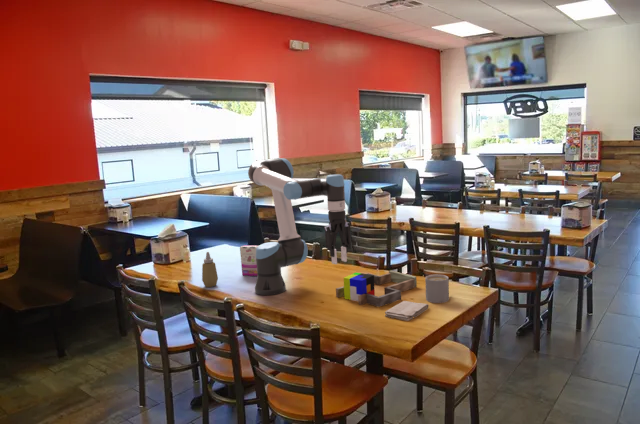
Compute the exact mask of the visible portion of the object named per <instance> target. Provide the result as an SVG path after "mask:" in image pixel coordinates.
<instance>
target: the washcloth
mask: <svg viewBox="0 0 640 424" xmlns="http://www.w3.org/2000/svg"><path fill="white" fill-rule="evenodd" d="M429 307H430V305H429V304H428V303H422V302H415V301H409V300H408V301H407V300H403V301H401V302H400V303H397V304H396V305H394V306H393V307H390V308H389V309H386V310H385V312H384V314H385V315H384V317H387V318H390V317H391V318H390V319H394V318H396V319H395V320H400V321H405V322H408V321H409V322H410V321H411V320H413V319H415V318H417V317H418V316H420V315H421V314H422V313H424V312H426V311H427V310H429ZM413 317H414V318H413Z"/></svg>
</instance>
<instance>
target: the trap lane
mask: <svg viewBox="0 0 640 424" xmlns="http://www.w3.org/2000/svg"><path fill="white" fill-rule="evenodd" d="M367 274H370V275H374V285H377V286H380V285H384V284H387V283H390V282H393V283H394V284H391V285H388V286H385V287H383V291H384V293H383V294H382V295H379V296H377V295H376V294H375V295H371V294H368V293H365V294H362V295H359V296H358V301H357V303H358V305H359V306H363V305H365V304H368V305H370V306H375V307H378V308H381V307H383V306H387V305H390V304H392V303H395V302H397V301H401V300H402V293H403V292H406V291H408V290H411V289H415V288H417V286H418V285H417V284H418V283H417V276H416V275H411V274H407V273H402V272H398V271H394V270H389V271H388V272H387V273H383V274H381V275H377V274H372V273H367ZM335 296H336V297H335V298H341V297H345V296H344V285H343V286H339V287H336V288H335ZM380 306H381V307H380Z"/></svg>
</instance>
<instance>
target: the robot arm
mask: <svg viewBox="0 0 640 424" xmlns="http://www.w3.org/2000/svg"><path fill="white" fill-rule="evenodd" d="M247 173H248V178H249V180H250V182H252V183H253V184H255V185H258V186H266V187H267V188H269V189H270V190H271V194H272V200H273V205H274V211H275V215H276V221H277V227H278V232H279V238H278V239H277V241H269V242H264V243H261V244H260V245H257V246H258V247H257V248H256V264H257V276H256V277H257V278H256V281H255V285H254V292H255V293H256V294H257V295H260V296H273V295H278V294H282V293H284V292H285V291H286V289H287V287H286V282H285V281H284V277H283V276H282V268H286V267H289V266H295V265H299V264H302V263H304V262H305V261H306V259H307V257H308V255H309V254H308V252H309V251H308V244H307V243H306V241H305V240H304V239H302V237H301V235H300V234H298V232H297V227H296V221H295V215H294V211H293V210H294V209H293V205H292V200H301V199H306V198H313V197H320V196H324V197H325V196H326V197H327V211H328V212H327V213H328V214H327V215H328V220H329V223H328V225H326V226H323V230H324V232H325V233H324V235H325V248H326V249H329V256H330V258H331V264H332V265H337V264H338V259H337V258H338V257H337V253H338V252H337V249H336V242H337V237H338V236H337V235H339V237H340V242H341V246H340V253H341V254H340V257H341V261H342V262H344V263H346V262H347V261H348V257H347V254H348V247H350V246H349V245H352V242H351V241H352V240H351V239H352V238H351V226H352V225H351V224H352V223H351V222H349V221H346V218H347V217H346V210H345V209H346V199H345V198H346V196H345V180H344V179H345V178H344V175H343V174H339V173H338V174H336V173H335V174H328V175H326V178H321V177H315V178H312V179H307V180H298V179H294V173H295V172H294V167H293V165H292V163H291V162H290V161H289V160H288V159H287V158H284V157H283V158H279V157H277V158H268V159H258V160H256V161H254V162H253V163H251V165H250V166H249V168H248V171H247Z"/></svg>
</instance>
